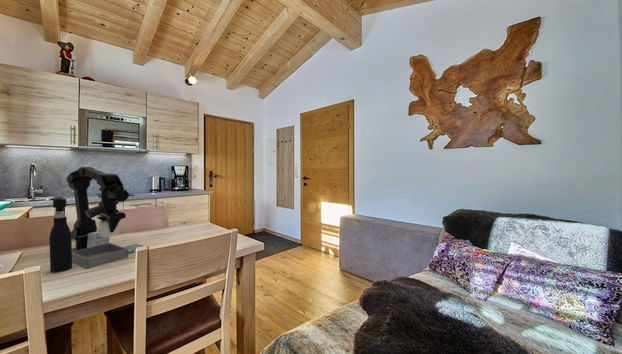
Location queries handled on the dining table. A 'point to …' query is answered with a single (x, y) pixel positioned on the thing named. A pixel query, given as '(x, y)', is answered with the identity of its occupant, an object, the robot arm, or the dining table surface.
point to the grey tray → (116, 254)
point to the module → (106, 229)
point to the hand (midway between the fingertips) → (109, 231)
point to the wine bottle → (60, 240)
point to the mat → (132, 247)
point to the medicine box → (96, 239)
